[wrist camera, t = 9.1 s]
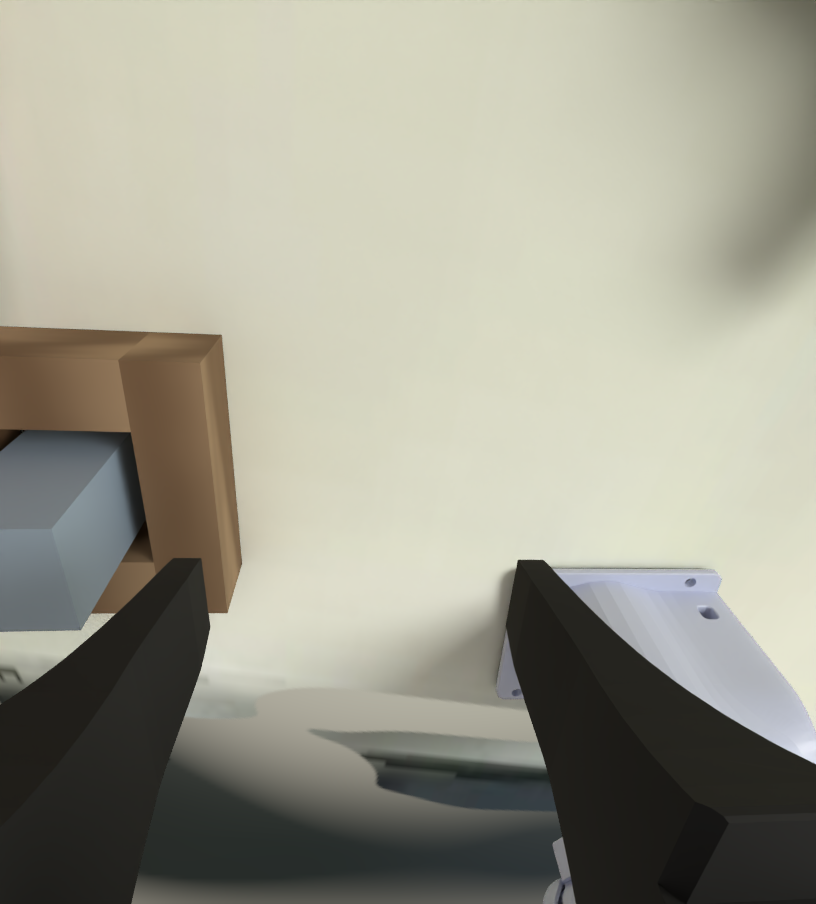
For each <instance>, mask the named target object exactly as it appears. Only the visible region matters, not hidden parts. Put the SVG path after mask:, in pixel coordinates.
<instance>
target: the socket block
mask: <svg viewBox="0 0 816 904" xmlns="http://www.w3.org/2000/svg"><path fill="white" fill-rule="evenodd" d="M20 430H57V431H99V432H131V436H132V442H133V447H134V453H135V459H136V464H137V470H138V476H139V482H140V487H141V493H142V499H143V504H144V510H145V516H146V520H145V521H144V523H143V525H142V527H141V528H140V530H139V532H138V533H137V535H136V537H135V539H134V540H133V542H132V544H131V545H130V547H129V549H128V550H127V552H126V554H125V556H124V557H123V559H122V561H121V562H120V564H119V566H118V568H117V569H116V571H115V573H114V574H113V576H112V578H111V580H110V581H109V583H108V585H107V586H106V588H105V590H104V592H103V593H102V595H101V597H100V598H99V600H98V602H97V603H96V605H95V607H94V609H93V610H92V612H91V613H117V612H118V611H119V610H120V609H121V608H122V607H124V606H125V605H126V604H127V603H128V602H129V601H130V600H131V599H132V598H133V597H134V596H135V595H136V594H137V593H138V592H139V591H140V590H141V589H142V588H143V587H144V586H145V585H146V584H147V583H148V582H149V581H150V580H151V579H152V578H153V577H154V576H155V575H156V574H157V573H158V572H159V571H160V570H161V569H162V568H163V567H164V566H165V565H166V564H167V563H168V562H169V561H170V560H172V559H173V558H201V559H202V567H203V575H204V583H205V591H206V598H207V606H208V613H228V609H229V606H230V603H231V599H232V596H233V592H234V589H235V585H236V582H237V579H238V575H239V572H240V568H241V565H242V559H241V547H240V536H239V525H238V514H237V502H236V491H235V480H234V469H233V457H232V446H231V435H230V424H229V412H228V401H227V390H226V379H225V368H224V356H223V345H222V335H208V334H183V333H157V332H131V331H105V330H79V329H53V328H28V327H2V326H0V451H1V450H3V449H4V448H5V447H6V446H7V445H9V444H10V443H11V442H12V441H13V440H15V439H16V438H17V437H18V436H19V435H21V433H20Z"/></svg>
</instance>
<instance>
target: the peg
mask: <svg viewBox="0 0 816 904" xmlns="http://www.w3.org/2000/svg"><path fill="white" fill-rule="evenodd" d="M145 520H146V516H145V510H144V504H143V499H142V493H141V487H140V482H139V476H138V470H137V464H136V459H135V453H134V447H133V442H132V436H131V432H99V431H57V430H25V431H24V432H23V433H22V434H21V435H19V436H18V437H17V438H16V439H15V440H13V441H12V442H11V443H10V444H9V445H7V446H6V447H5V448H4V449H3V450H1V451H0V632H8V631H62V630H81V629H82V627H83V626H84V624H85V622H86V621H87V619H88V617H89V615H90V614H91V612H92V610H93V609H94V607H95V605H96V603H97V602H98V600H99V598H100V597H101V595H102V593H103V592H104V590H105V588H106V586H107V585H108V583H109V581H110V580H111V578H112V576H113V574H114V573H115V571H116V569H117V568H118V566H119V564H120V562H121V561H122V559H123V557H124V556H125V554H126V552H127V550H128V549H129V547H130V545H131V544H132V542H133V540H134V539H135V537H136V535H137V533H138V532H139V530H140V528H141V527H142V525H143V523H144V521H145Z"/></svg>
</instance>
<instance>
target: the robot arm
mask: <svg viewBox="0 0 816 904" xmlns="http://www.w3.org/2000/svg"><path fill="white" fill-rule="evenodd" d="M688 579H690V580H689V581H686V580H688ZM721 580H722V578H721V576H720V575H719V574H718V572H716V571H715V570H712V569H552V568H551V567H550V566H549V565H548V564H547V563H546V562H545V561H544V560H518V562H517V568H516V573H515V579H514V584H513V590H512V595H511V601H510V606H509V612H508V617H507V622H506V634H505V639H504V645H503V650H502V656H501V661H500V666H499V672H498V677H497V683H496V692H497V695H498V697H500V698H502V699H524V700H525V703H526V706H527V709H528V712H529V715H530V718H531V721H532V724H533V727H534V730H535V733H536V736H537V739H538V742H539V745H540V748H541V751H542V754H543V757H544V761H545V764H546V768H547V771H548V775H549V778H550V783H551V787H552V792H553V796H554V800H555V805H556V809H557V814H558V818H559V823H560V827H561V832H562V836H563V837H562V838H560V839H559V840H557V841H556V842H554V843H553V848H554V852H555V856H556V859H557V863H558V867H559V870H560V874H561V878H560V879H558V880H556V881H554V883H552V884H551V885H550V886H549V887H548V889H547V892H546V894H545V896H544V901H543V904H816V732H815V729H814V726H813V724H812V721H811V719H810V717H809V714H808V712H807V710H806V708H805V706H804V704H803V703H802V701H801V699H800V698H799V696H798V694H797V693H796V692H795V690H794V689H793V687H792V686H791V685H790V684H789V682H788V681H787V680H786V679H785V677H784V676H783V675H782V674H781V672H780V671H779V670H778V668H777V667H776V666H775V665H774V663H773V662H772V661H771V660H770V658H769V657H768V656H767V655H766V653H765V652H764V651H763V650H762V648H761V647H760V646H759V645H758V643H757V642H756V641H755V640H754V638H753V637H752V636H751V635H750V633H749V632H748V631H747V630H746V628H745V627H744V626H743V625H742V623H741V622H740V621H739V620H738V618H737V617H736V616H735V615H734V613H733V612H732V611H731V610H730V608H729V607H728V606H727V605H726V603H725V602H724V601H723V600H722V598H721V597H720V596H719V595H718V593H717V592H718V589H719V587H720V584H721ZM209 631H210V622H209V614H208V606H207V598H206V591H205V583H204V575H203V567H202V559H201V558H173V559H172V560H170V561H169V562H168V563H167V564H166V565H165V566H164V567H163V568H162V569H161V570H160V571H159V572H158V573H157V574H156V575H155V576H154V577H153V578H152V579H151V580H150V581H149V582H148V583H147V584H146V585H145V586H144V587H143V588H142V589H141V590H140V591H139V592H138V593H137V594H136V595H135V596H134V597H133V598H132V599H131V600H130V601H129V602H128V603H127V604H126V605H125V606H124V607H122V608H121V609H120V610H119V611H118V612H117V613H116V614H115V615H114V616H113V617H112V618H111V619H110V620H109V621H108V622H107V623H105V624H104V625H103V626H102V627H101V628H100V629H99V630H98V631H96V632H95V633H94V634H93V635H92V636H91V637H90V638H88V639H87V640H86V641H85V642H84V643H83V644H81V645H80V646H79V647H78V648H77V649H76V650H74V651H73V652H72V653H71V654H70V655H69V656H67V657H66V658H65V659H64V660H62V661H61V662H60V663H59V664H57V665H56V666H55V667H53V668H52V669H51V670H49V671H48V672H47V673H45V674H44V675H43V676H41V677H40V678H39V679H37V680H36V681H34V682H33V683H32V684H30V685H29V686H28V687H26V688H25V689H23V690H22V691H20V692H19V693H18V694H16V695H14V696H13V697H11V698H10V699H8V700H7V701H5V702H4V703H2V704H1V705H0V904H131V902H132V898H133V893H134V888H135V884H136V880H137V876H138V872H139V868H140V863H141V859H142V855H143V851H144V847H145V842H146V838H147V834H148V830H149V826H150V822H151V818H152V815H153V811H154V807H155V802H156V798H157V795H158V791H159V788H160V784H161V781H162V778H163V775H164V771H165V769H166V765H167V763H168V760H169V757H170V754H171V752H172V749H173V746H174V743H175V741H176V738H177V735H178V732H179V729H180V727H181V724H182V721H183V718H184V716H185V713H186V710H187V707H188V705H189V702H190V699H191V696H192V693H193V691H194V688H195V685H196V682H197V679H198V676H199V673H200V670H201V667H202V662H203V658H204V654H205V649H206V645H207V640H208V635H209ZM515 689H516V690H515Z"/></svg>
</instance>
